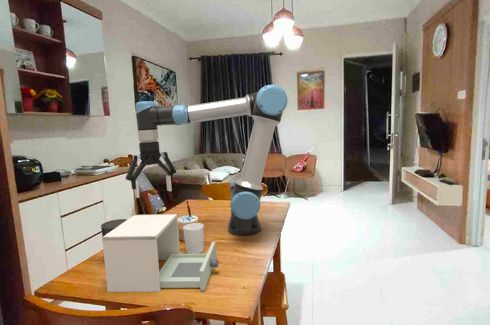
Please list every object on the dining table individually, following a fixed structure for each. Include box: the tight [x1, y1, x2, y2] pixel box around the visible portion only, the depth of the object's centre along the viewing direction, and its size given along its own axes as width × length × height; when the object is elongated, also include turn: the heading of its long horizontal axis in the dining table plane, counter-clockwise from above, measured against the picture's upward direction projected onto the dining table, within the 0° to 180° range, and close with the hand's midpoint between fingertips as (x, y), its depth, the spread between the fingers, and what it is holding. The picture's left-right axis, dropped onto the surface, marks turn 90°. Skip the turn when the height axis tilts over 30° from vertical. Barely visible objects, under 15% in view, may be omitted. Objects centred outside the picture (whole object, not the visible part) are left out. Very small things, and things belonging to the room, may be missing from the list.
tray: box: [159, 241, 219, 291], centre depth 101 cm, size 19×23×6 cm
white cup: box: [182, 222, 205, 254], centre depth 119 cm, size 8×8×10 cm
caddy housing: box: [101, 213, 181, 293], centre depth 101 cm, size 16×23×17 cm
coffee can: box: [100, 218, 129, 238], centre depth 113 cm, size 10×10×14 cm
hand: (154, 194), depth 123 cm, fingers open, 13 cm apart
